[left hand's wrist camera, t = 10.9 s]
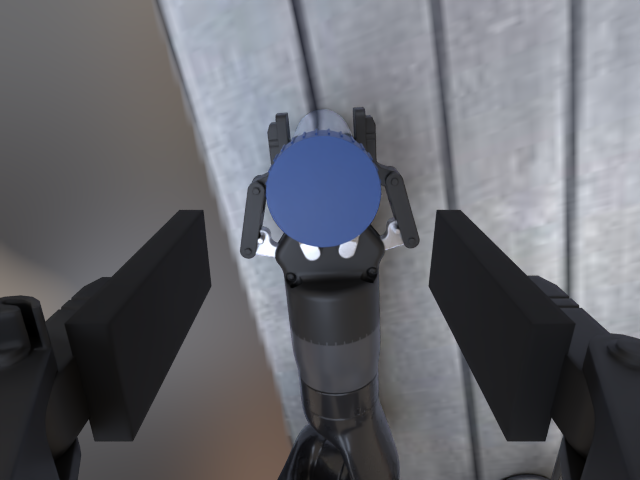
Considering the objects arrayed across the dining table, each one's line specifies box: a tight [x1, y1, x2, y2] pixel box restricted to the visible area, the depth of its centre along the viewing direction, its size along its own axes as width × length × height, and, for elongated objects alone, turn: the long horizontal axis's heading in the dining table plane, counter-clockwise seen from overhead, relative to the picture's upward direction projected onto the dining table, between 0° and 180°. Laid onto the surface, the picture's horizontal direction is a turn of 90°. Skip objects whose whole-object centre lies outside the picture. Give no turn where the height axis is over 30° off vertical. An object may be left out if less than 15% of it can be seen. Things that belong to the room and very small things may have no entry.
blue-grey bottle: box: [293, 109, 353, 138], centre depth 28 cm, size 5×5×18 cm
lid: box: [266, 129, 381, 247], centre depth 21 cm, size 6×6×2 cm
